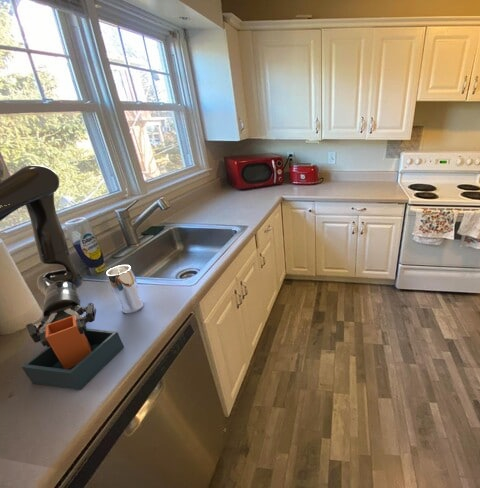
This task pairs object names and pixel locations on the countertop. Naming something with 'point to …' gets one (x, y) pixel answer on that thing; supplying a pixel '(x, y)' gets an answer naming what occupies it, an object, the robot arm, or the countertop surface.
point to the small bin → (67, 341)
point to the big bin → (53, 373)
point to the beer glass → (125, 287)
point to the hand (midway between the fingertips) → (64, 337)
